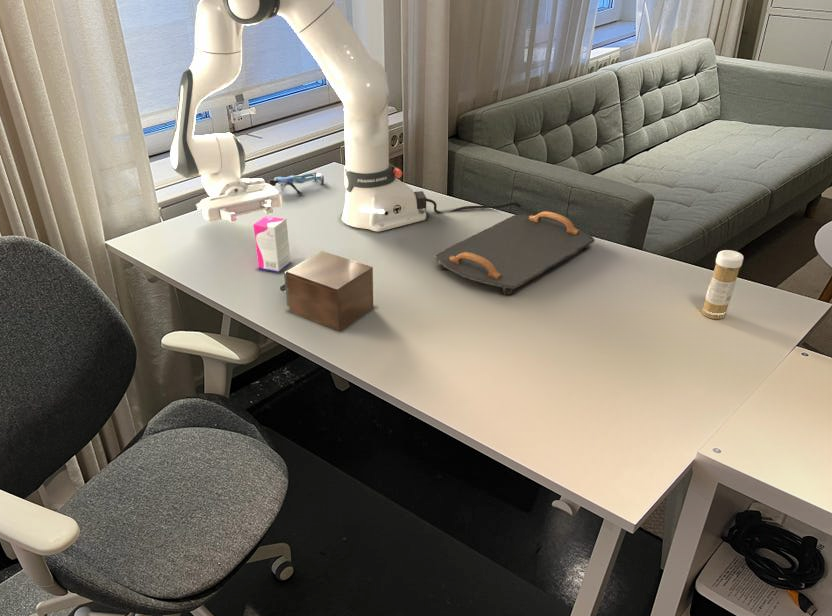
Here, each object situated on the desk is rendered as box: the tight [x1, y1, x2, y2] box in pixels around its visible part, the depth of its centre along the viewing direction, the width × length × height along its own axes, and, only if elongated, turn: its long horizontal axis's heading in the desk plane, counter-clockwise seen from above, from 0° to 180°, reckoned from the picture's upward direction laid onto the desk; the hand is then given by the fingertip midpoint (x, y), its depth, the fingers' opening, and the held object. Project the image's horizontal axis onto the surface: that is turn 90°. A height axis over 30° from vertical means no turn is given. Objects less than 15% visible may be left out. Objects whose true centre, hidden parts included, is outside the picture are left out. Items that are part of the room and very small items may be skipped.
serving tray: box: [434, 210, 596, 296], centre depth 165 cm, size 39×23×6 cm, turn 134°
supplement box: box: [253, 215, 292, 274], centre depth 165 cm, size 6×6×12 cm
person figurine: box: [268, 172, 325, 196], centre depth 207 cm, size 11×4×18 cm
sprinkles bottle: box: [701, 249, 745, 320], centre depth 140 cm, size 5×5×13 cm
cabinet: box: [285, 250, 374, 332], centre depth 147 cm, size 14×12×10 cm
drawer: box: [279, 271, 289, 307], centre depth 149 cm, size 16×10×8 cm, turn 52°
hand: (251, 214), depth 172 cm, fingers open, 8 cm apart
